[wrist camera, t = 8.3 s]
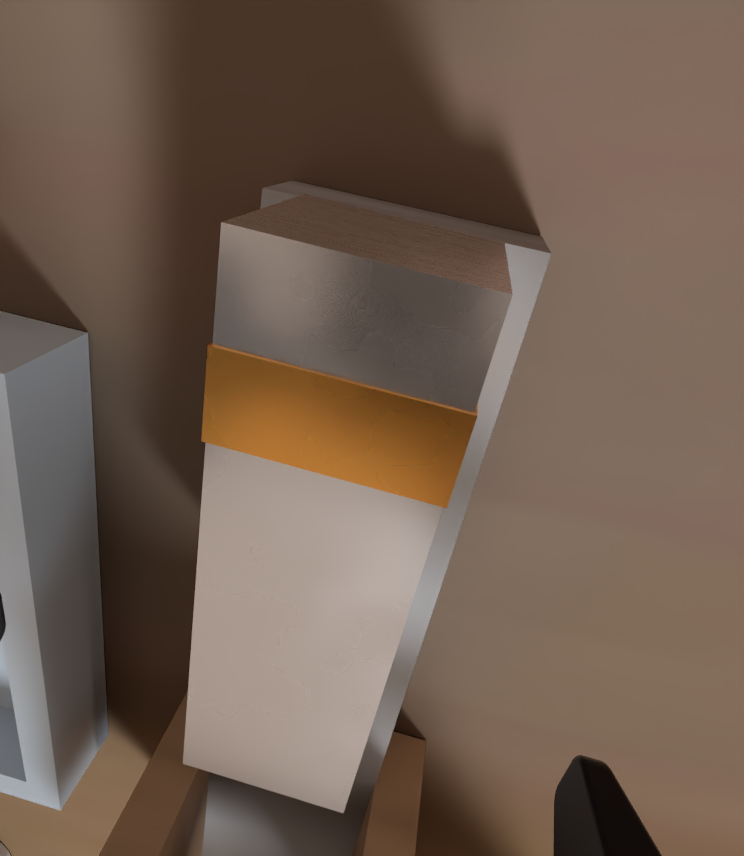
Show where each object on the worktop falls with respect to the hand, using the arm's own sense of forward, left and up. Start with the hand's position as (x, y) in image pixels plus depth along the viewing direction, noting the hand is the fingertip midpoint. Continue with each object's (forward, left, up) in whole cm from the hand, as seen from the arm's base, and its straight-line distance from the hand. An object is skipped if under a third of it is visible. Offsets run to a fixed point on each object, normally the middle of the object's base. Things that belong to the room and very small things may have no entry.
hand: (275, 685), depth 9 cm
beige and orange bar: (0, 0, -6) cm, 6 cm away
